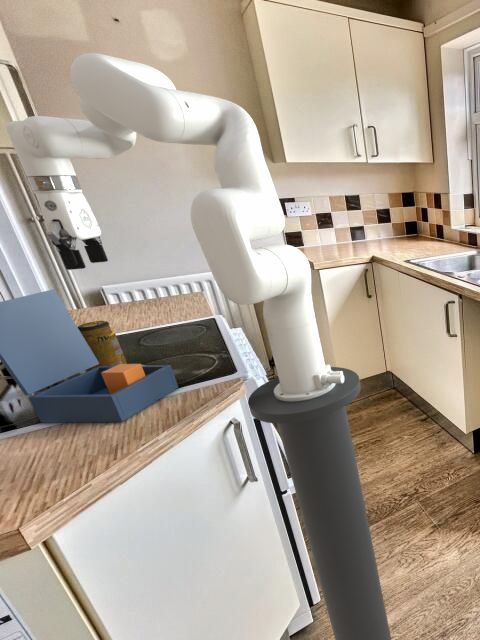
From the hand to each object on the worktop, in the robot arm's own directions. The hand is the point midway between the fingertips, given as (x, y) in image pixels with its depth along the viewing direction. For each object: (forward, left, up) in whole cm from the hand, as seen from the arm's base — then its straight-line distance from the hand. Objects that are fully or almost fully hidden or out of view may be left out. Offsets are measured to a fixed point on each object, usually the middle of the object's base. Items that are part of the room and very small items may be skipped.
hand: (88, 265), depth 96 cm
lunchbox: (-18, +22, -24) cm, 37 cm away
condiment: (-4, +7, -24) cm, 25 cm away
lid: (-9, +22, -10) cm, 26 cm away
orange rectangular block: (-22, +22, -23) cm, 39 cm away
